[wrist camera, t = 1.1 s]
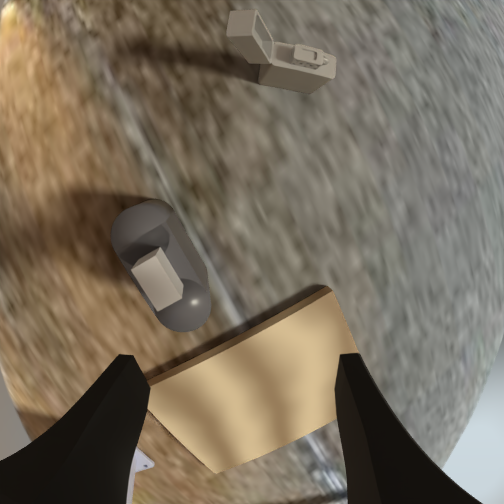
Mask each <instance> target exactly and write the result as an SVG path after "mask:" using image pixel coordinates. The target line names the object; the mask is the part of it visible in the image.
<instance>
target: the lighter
mask: <svg viewBox="0 0 504 504" xmlns="http://www.w3.org/2000/svg"><path fill="white" fill-rule="evenodd" d="M226 33H227V37H228V39H229V40H230V41H231V42H232V43H233V45H234V46H235V47H236V48H237V49H238V51H239V52H240V53H241V54H242V55H243V57H244V58H245V59H246V60H247V62H248V63H249V64H261V65H260V71H259V78H258V83H259V84H260V85H265V86H271V87H276V88H281V89H287V90H292V91H296V92H301V93H306V94H311V93H313V92H314V91H316V90H317V89H318V88H320V87H321V86H323V85H324V84H326V83H327V82H329V81H330V80H332V79H333V78H335V72H336V58H335V56H333V55H330V54H326V53H323V50H320V49H316V48H312V47H308V46H304V45H300V44H296V45H295V46H294V45H290V44H285V43H280V42H275V43H274V40H273V38H272V36H271V34H270V33H269V31H268V29H267V27H266V25H265V23H264V22H263V20H262V18H261V16H260V14H259V13H258V11H257V9H252V10H236V11H231V12H230V16H229V21H228V27H227V32H226Z"/></svg>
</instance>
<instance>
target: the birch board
mask: <svg viewBox="0 0 504 504" xmlns="http://www.w3.org/2000/svg"><path fill="white" fill-rule="evenodd" d="M348 353H359V352H358V349H357V347H356V345H355V342H354V340H353V337H352V335H351V332H350V330H349V327H348V325H347V323H346V320H345V318H344V315H343V313H342V311H341V308H340V306H339V304H338V301H337V299H336V297H335V294H334V292H333V290H331V289H330V288H329V287H328V286H326V287H324V288H322V289H321V290H319V291H317V292H316V293H314V294H312V295H310V296H309V297H307V298H305V299H303V300H302V301H300V302H298V303H296V304H295V305H293V306H291V307H289V308H288V309H286V310H284V311H282V312H280V313H279V314H277V315H275V316H273V317H271V318H270V319H268V320H266V321H264V322H262V323H260V324H259V325H257V326H255V327H253V328H251V329H249V330H247V331H246V332H244V333H242V334H240V335H238V336H236V337H234V338H232V339H230V340H228V341H226V342H225V343H223V344H221V345H219V346H217V347H215V348H213V349H211V350H209V351H207V352H205V353H203V354H201V355H199V356H197V357H195V358H193V359H191V360H189V361H187V362H185V363H183V364H181V365H179V366H177V367H174V368H172V369H170V370H168V371H166V372H164V373H162V374H160V375H158V376H156V377H153V378H151V379H149V380H147V382H148V384H149V386H150V387H151V390H150V396H149V403H148V410H149V411H150V412H151V413H152V414H153V415H154V416H155V417H156V418H157V419H158V420H159V421H160V422H161V423H162V424H163V425H164V426H165V427H166V428H167V429H168V430H169V431H170V432H171V433H172V434H173V435H174V436H175V437H176V438H177V439H178V440H179V441H180V442H181V443H182V444H183V445H184V446H185V447H186V448H187V449H188V450H189V451H190V452H191V453H192V454H194V455H195V456H196V457H197V458H198V459H199V460H200V461H201V462H202V463H204V464H205V465H206V466H207V467H208V468H209V469H210V470H212V471H213V472H214V473H215V474H216V473H219V472H222V471H224V470H227V469H230V468H232V467H235V466H238V465H240V464H243V463H245V462H248V461H250V460H253V459H255V458H257V457H260V456H262V455H264V454H267V453H269V452H271V451H273V450H276V449H278V448H280V447H282V446H284V445H286V444H288V443H291V442H293V441H295V440H297V439H299V438H301V437H303V436H305V435H307V434H309V433H311V432H313V431H314V430H316V429H318V428H320V427H322V426H324V425H326V424H327V423H329V422H331V421H333V420H335V419H336V418H337V416H336V404H335V391H334V387H335V382H336V376H337V369H338V363H339V357H340V354H348Z"/></svg>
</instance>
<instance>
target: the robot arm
mask: <svg viewBox="0 0 504 504" xmlns="http://www.w3.org/2000/svg"><path fill="white" fill-rule="evenodd" d="M150 390H151V387H150V386H149V384H148V382H147V380H146V378H145V377H144V375H143V373H142V371H141V369H140V367H139V365H138V364H137V362H136V360H135V358H134V356H133V355H122V354H119V355H118V356H117V357H116V358H115V359H114V361H113V362H112V363H111V364H110V365H109V366H108V367H107V369H106V370H105V371H104V372H103V373H102V374H101V376H100V377H99V378H98V379H97V380H96V381H95V382H94V384H93V385H92V386H91V387H90V388H89V389H88V390H87V391H86V393H85V394H84V395H83V396H82V397H81V398H80V399H79V400H78V401H77V402H76V403H75V404H74V405H73V406H72V408H71V409H70V410H69V411H68V412H67V413H66V414H65V415H64V416H63V417H62V418H61V419H60V420H58V421H57V422H56V423H55V424H54V425H53V426H52V427H51V428H49V429H48V430H47V431H46V432H45V433H43V434H42V435H41V436H39V437H38V438H37V439H35V440H34V441H33V442H31V443H30V444H29V445H27V446H26V447H24V448H22V449H21V450H19V451H18V452H16V453H14V454H13V455H11V456H9V457H7V458H5V459H3V460H1V461H0V504H132V496H133V487H134V479H135V472H138V471H141V470H145V469H148V468H152V467H154V462H153V461H152V460H151V459H150V458H149V457H147V456H146V455H145V454H144V453H143V452H142V451H141V450H140V449H139V448H137V443H138V440H139V437H140V433H141V430H142V427H143V423H144V420H145V416H146V413H147V408H148V403H149V396H150ZM334 391H335V404H336V416H337V421H338V427H339V432H340V438H341V443H342V449H343V455H344V461H345V467H346V475H347V494H348V504H482V503H481V502H479V501H478V500H477V499H475V498H474V497H473V496H471V495H470V494H469V493H467V492H466V491H465V490H463V489H462V488H461V487H460V486H459V485H457V484H456V483H455V482H454V481H453V480H452V479H451V478H450V477H448V476H447V475H446V474H445V473H444V472H443V471H442V470H441V469H440V468H439V467H438V466H437V465H436V464H435V463H434V462H433V461H432V460H431V459H430V458H429V457H428V455H427V454H426V453H425V452H424V451H423V450H422V449H421V448H420V446H419V445H418V444H417V443H416V442H415V440H414V439H413V438H412V437H411V435H410V434H409V433H408V432H407V430H406V429H405V428H404V426H403V425H402V423H401V422H400V421H399V419H398V418H397V417H396V415H395V414H394V412H393V411H392V409H391V408H390V406H389V405H388V403H387V401H386V400H385V398H384V397H383V395H382V394H381V392H380V390H379V389H378V387H377V385H376V383H375V382H374V380H373V378H372V376H371V375H370V373H369V371H368V369H367V367H366V365H365V363H364V361H363V359H362V357H361V355H360V354H359V353H348V354H340V357H339V363H338V369H337V376H336V382H335V387H334Z"/></svg>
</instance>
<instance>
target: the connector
mask: <svg viewBox="0 0 504 504" xmlns="http://www.w3.org/2000/svg"><path fill="white" fill-rule="evenodd" d="M111 242H112V246H113V249H114V251H115V252H116V254H117V256H118V257H119V259H120V261H121V262H122V264H123V266H124V267H125V269H126V271H127V272H128V274H129V275H130V277H131V279H132V280H133V282H134V283H135V285H136V287H137V288H138V290H139V291H140V293H141V294H142V296H143V297H144V299H145V301H146V302H147V304H148V305H149V307H150V308H151V310H152V311H153V313H154V314H155V316H156V317H157V318H158V320H159V321H160V322H161V323H162V324H163V325H164V326H165V327H167V328H169V329H171V330H173V331H177V332H189V331H193V330H196V329H198V328H199V327H201V326H202V325H203V324H204V323H205V322H206V321H207V319H208V317H209V315H210V311H211V300H210V291H209V283H208V274H207V269H206V266H205V264H204V262H203V261H202V259H201V257H200V255H199V254H198V252H197V250H196V249H195V247H194V245H193V243H192V242H191V240H190V238H189V236H188V235H187V233H186V231H185V229H184V227H183V226H182V224H181V222H180V220H179V219H178V217H177V215H176V213H175V211H174V210H173V208H172V207H171V206H170V205H169V204H168V203H166V202H165V201H162V200H158V199H151V200H147V201H145V202H142V203H140V204H137V205H135V206H132V207H130V208H128V209H126V210H124V211H123V212H121V213H120V214H119V215H118V216H117V218H116V219H115V221H114V223H113V225H112V229H111Z"/></svg>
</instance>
